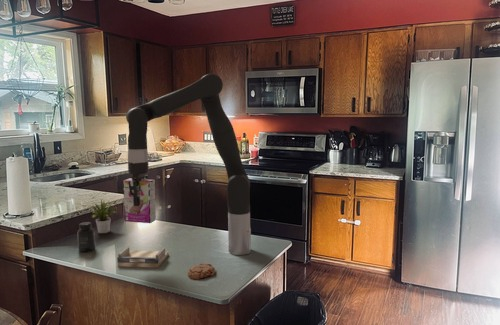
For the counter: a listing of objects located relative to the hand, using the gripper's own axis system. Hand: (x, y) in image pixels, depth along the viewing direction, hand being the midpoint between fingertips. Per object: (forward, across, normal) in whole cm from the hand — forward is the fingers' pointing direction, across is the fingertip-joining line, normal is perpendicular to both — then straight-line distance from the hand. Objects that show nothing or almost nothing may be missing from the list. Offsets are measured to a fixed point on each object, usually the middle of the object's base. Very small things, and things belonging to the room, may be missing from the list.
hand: (139, 203), depth 148 cm
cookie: (+24, +8, +26) cm, 36 cm away
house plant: (+24, -35, -34) cm, 55 cm away
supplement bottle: (+24, -11, -29) cm, 39 cm away
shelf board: (+24, -2, 0) cm, 24 cm away
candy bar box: (+7, 0, 0) cm, 7 cm away
